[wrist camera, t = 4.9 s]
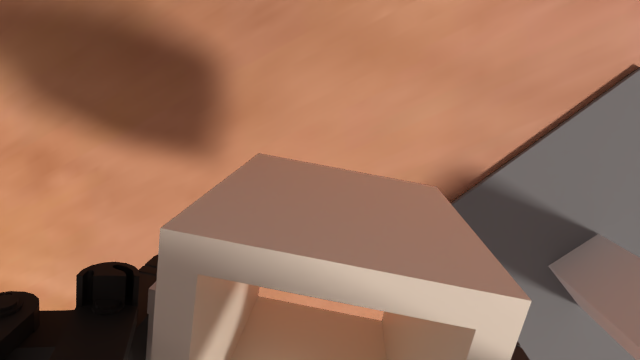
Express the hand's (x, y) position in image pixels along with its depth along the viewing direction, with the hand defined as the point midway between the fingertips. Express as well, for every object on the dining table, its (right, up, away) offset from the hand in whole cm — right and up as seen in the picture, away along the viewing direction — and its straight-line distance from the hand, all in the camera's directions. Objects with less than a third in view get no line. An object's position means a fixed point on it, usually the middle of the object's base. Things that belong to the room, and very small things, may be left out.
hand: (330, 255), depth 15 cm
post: (+19, -3, +13) cm, 23 cm away
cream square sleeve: (0, 0, 0) cm, 0 cm away
